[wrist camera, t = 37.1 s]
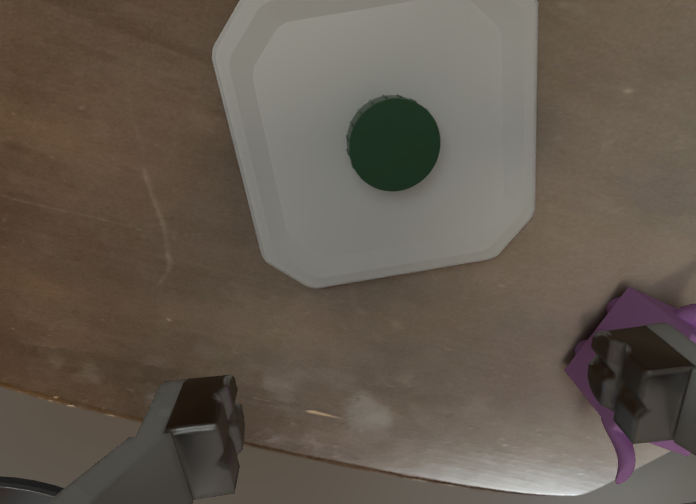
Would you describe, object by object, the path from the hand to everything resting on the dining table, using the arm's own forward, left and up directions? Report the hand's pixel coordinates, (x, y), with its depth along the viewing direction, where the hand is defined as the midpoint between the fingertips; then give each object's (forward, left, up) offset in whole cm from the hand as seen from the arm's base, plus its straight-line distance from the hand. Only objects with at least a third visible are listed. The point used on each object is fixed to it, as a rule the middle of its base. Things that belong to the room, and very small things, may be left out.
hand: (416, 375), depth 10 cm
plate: (0, -3, -25) cm, 25 cm away
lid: (0, -3, -21) cm, 21 cm away
